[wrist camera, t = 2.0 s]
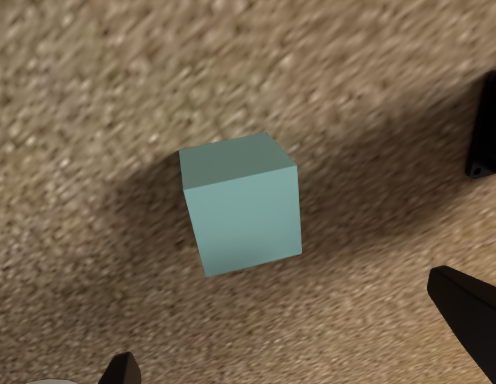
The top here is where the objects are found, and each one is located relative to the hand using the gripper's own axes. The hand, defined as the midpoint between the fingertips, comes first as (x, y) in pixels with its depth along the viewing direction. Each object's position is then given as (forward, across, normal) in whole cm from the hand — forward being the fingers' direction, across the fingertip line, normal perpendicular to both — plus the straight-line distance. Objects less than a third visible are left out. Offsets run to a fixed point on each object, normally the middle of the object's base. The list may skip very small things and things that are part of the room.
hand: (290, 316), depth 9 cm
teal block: (+9, 0, 0) cm, 9 cm away
